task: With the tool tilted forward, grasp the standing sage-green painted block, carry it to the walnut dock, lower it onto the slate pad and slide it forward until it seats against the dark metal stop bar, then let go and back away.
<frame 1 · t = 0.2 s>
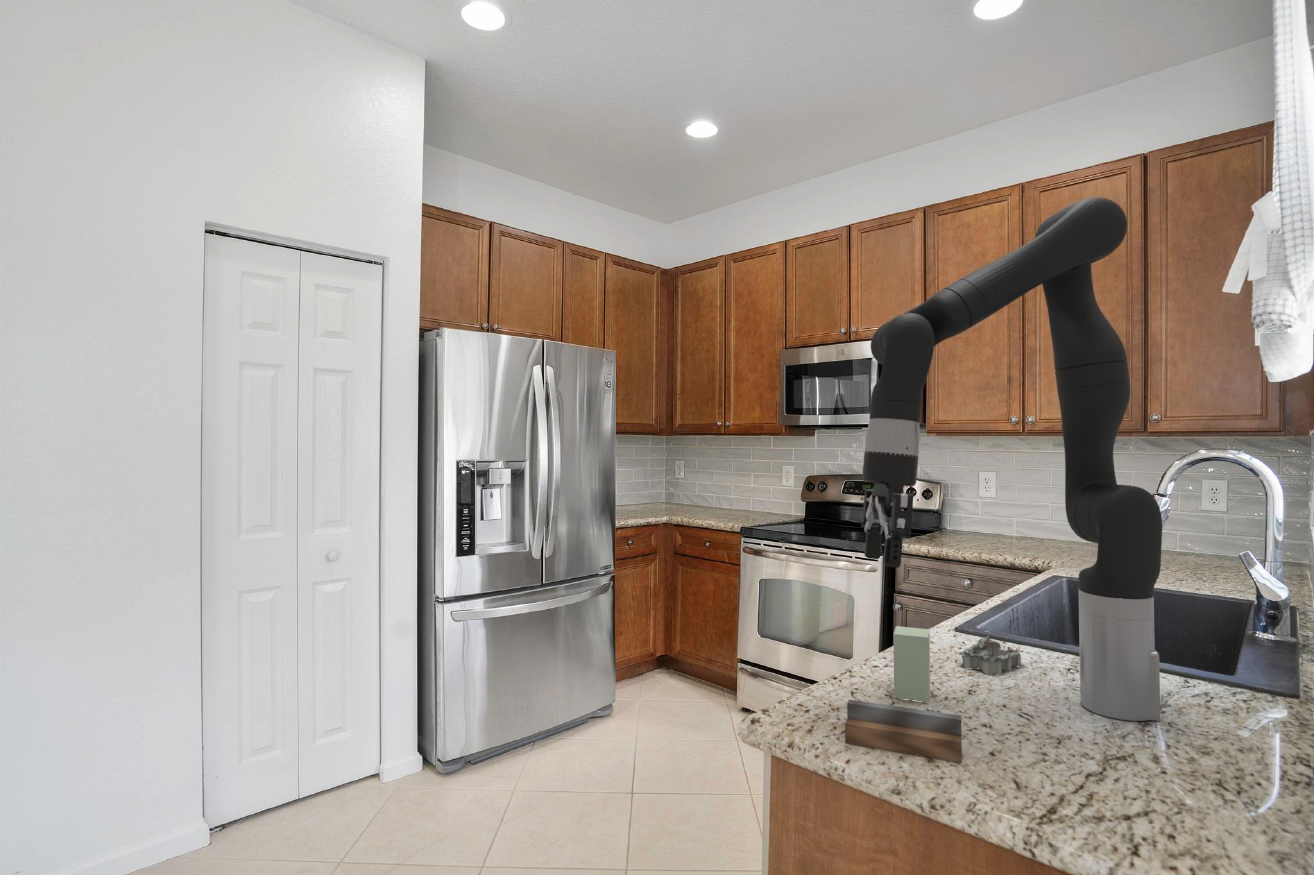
hand: (881, 562, 98), 22 cm above the counter, tool pointing down, fingers open, 8 cm apart
grey scalloped block: (992, 668, 119), on the counter
green block: (912, 695, 105), on the counter
dock: (903, 743, 88), on the counter
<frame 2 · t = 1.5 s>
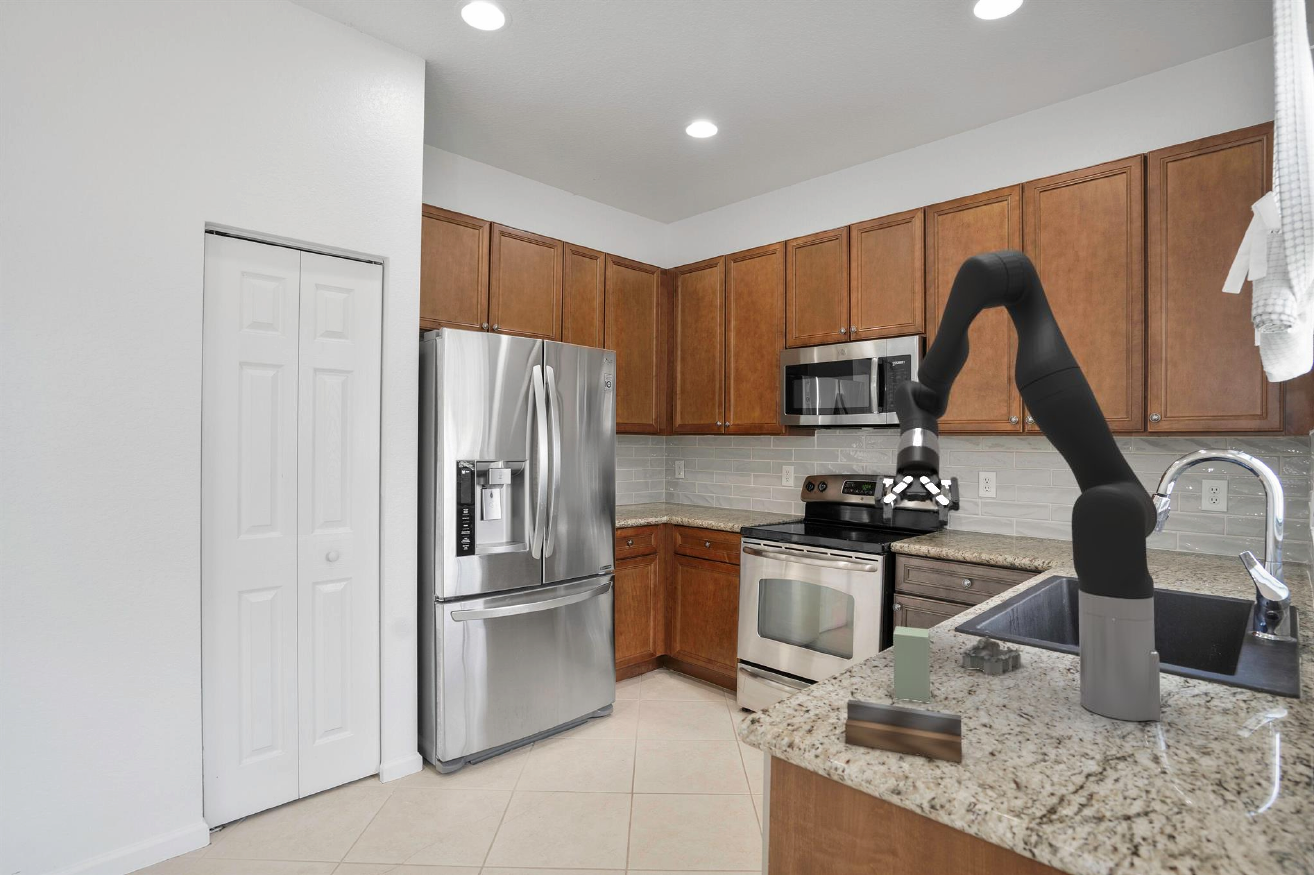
hand: (915, 524, 117), 25 cm above the counter, tool tilted 45°, fingers open, 8 cm apart
nothing on the counter moved.
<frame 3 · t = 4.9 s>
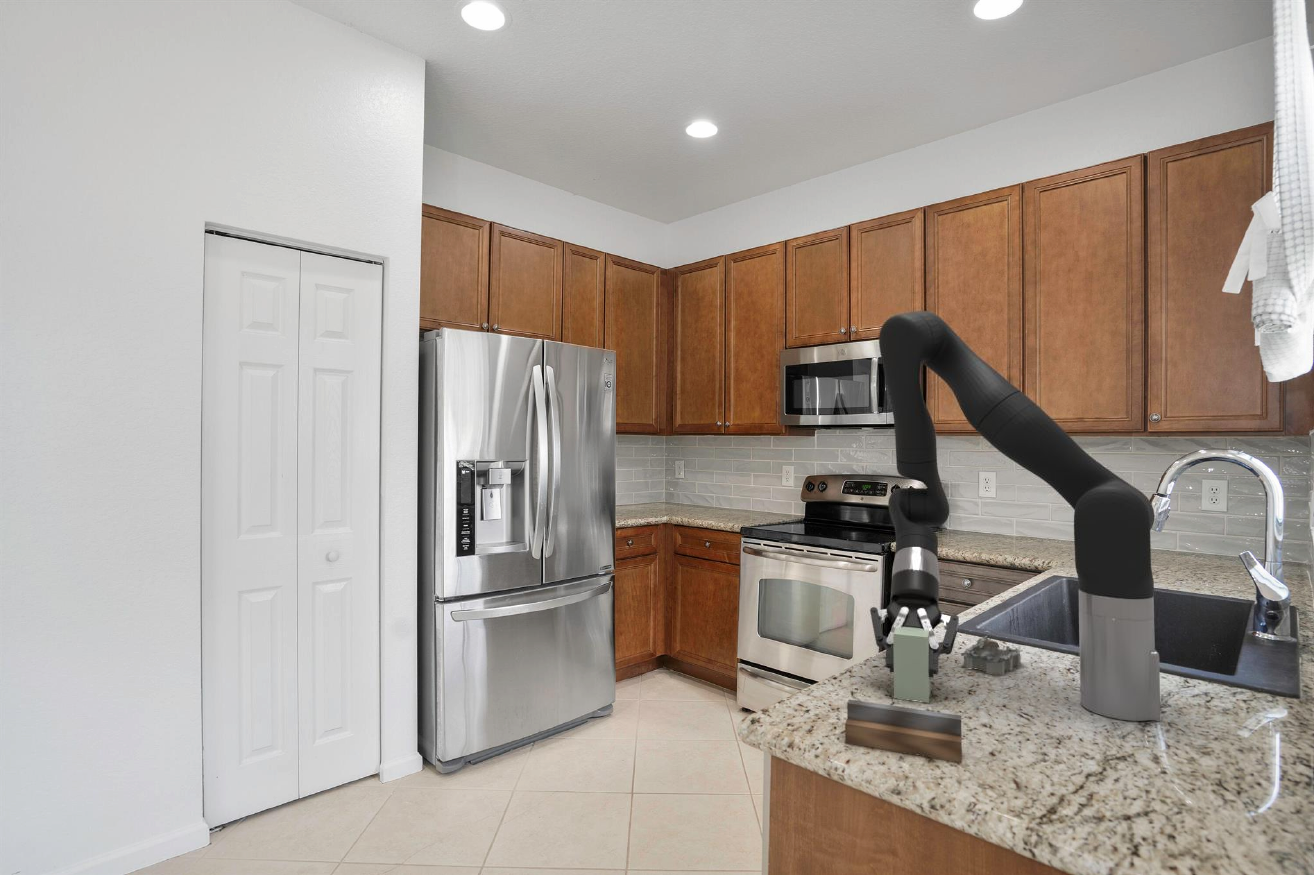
hand: (911, 672, 103), 4 cm above the counter, tool tilted 45°, fingers closed on green block, 5 cm apart
green block: (912, 695, 105), on the counter, touching gripper
everything else where it was.
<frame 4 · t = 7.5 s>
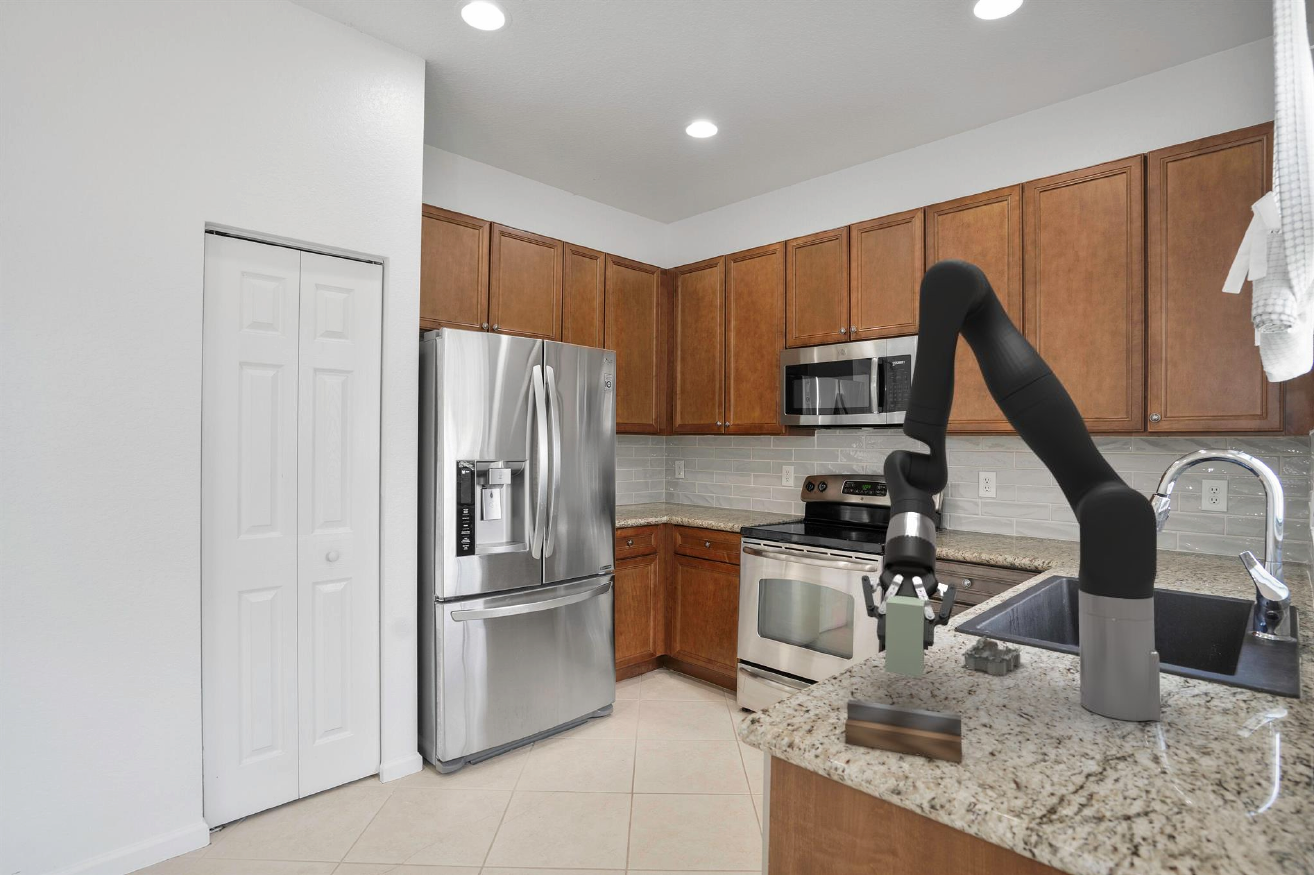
hand: (904, 643, 95), 11 cm above the counter, tool tilted 45°, fingers closed on green block, 5 cm apart
green block: (904, 669, 97), point 7 cm above the counter, touching gripper
everything else where it was.
when the fingers open (5 cm above the counter, at t = 10.1 s): green block stays where it is, resting on dock.
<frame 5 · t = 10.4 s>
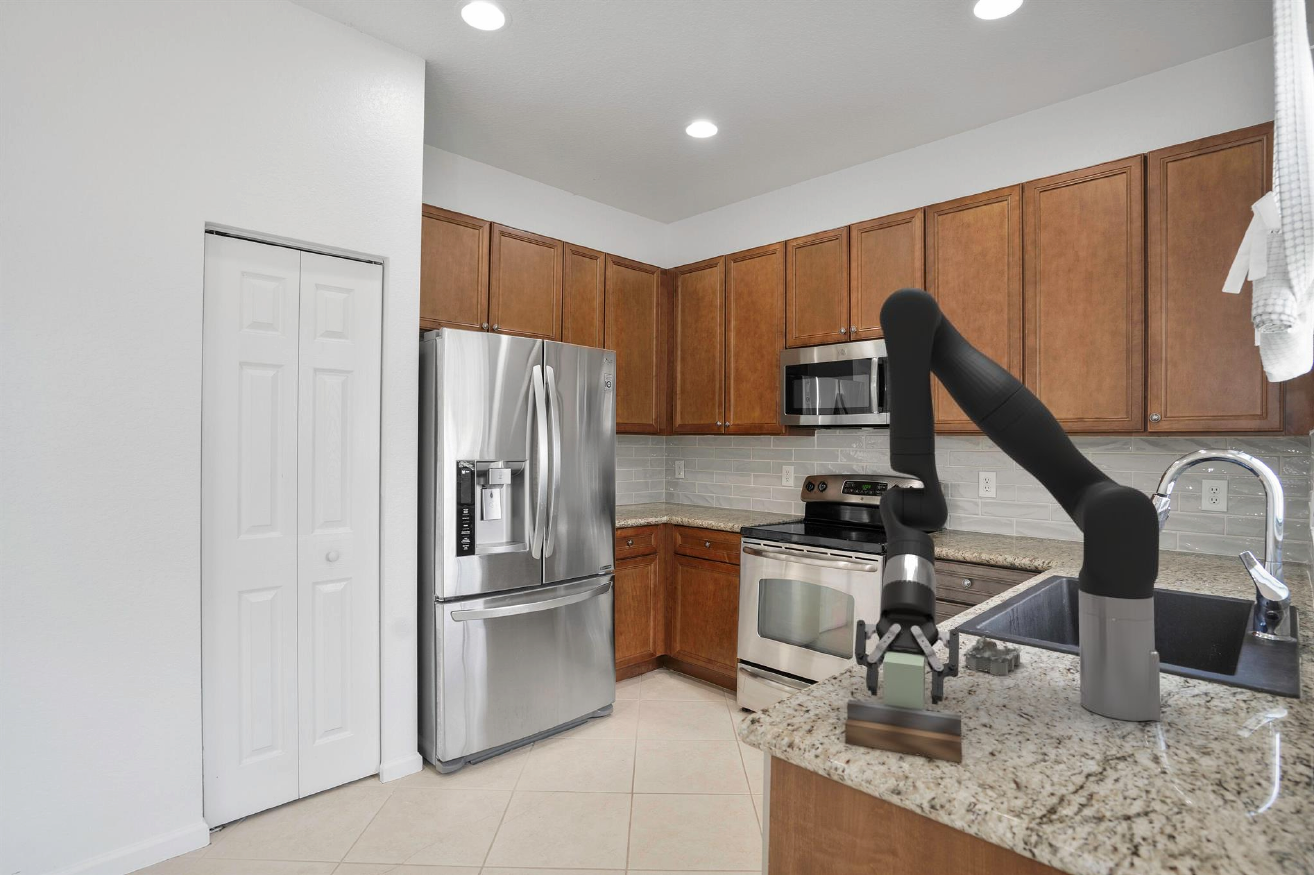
hand: (903, 697, 90), 5 cm above the counter, tool tilted 45°, fingers open, 7 cm apart
green block: (905, 732, 91), resting on dock
everything else where it was.
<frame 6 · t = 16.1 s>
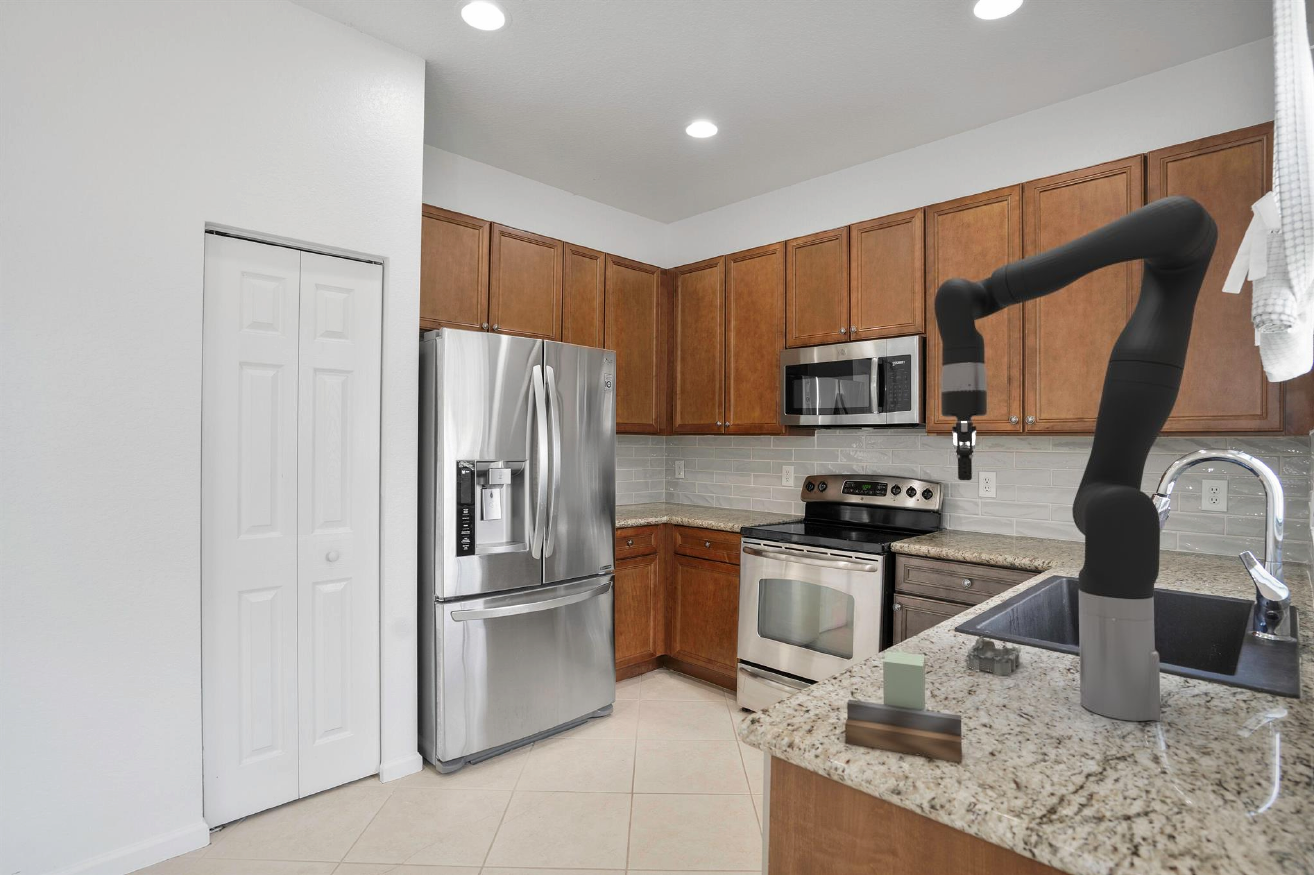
hand: (964, 479, 121), 33 cm above the counter, tool pointing down, fingers open, 8 cm apart
nothing on the counter moved.
at the end: green block inside the target area (0.6 cm from its centre), resting on dock; green block tilted 0°; the gripper is holding nothing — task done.
